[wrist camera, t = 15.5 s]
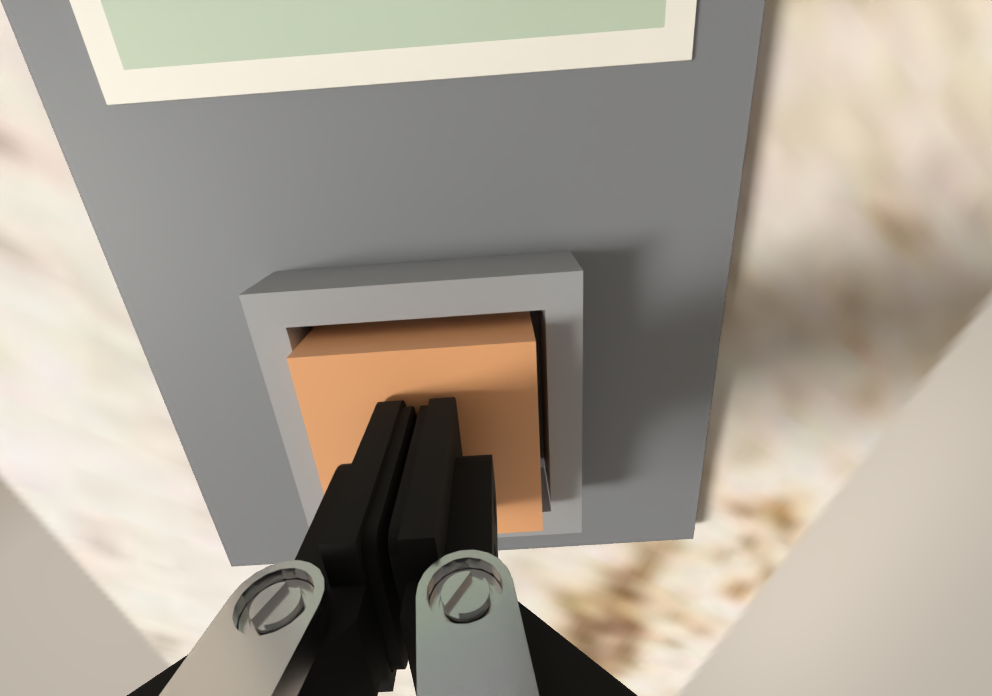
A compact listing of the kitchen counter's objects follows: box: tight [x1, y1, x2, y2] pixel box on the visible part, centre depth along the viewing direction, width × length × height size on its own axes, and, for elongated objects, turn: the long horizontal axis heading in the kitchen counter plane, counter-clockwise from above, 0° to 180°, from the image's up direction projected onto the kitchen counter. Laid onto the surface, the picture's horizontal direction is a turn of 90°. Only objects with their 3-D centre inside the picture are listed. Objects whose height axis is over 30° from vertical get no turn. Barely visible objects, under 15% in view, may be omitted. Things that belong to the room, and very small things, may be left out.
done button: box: [286, 311, 543, 534], centre depth 12 cm, size 5×5×2 cm
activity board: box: [1, 0, 765, 566], centre depth 10 cm, size 26×15×2 cm, turn 4°
